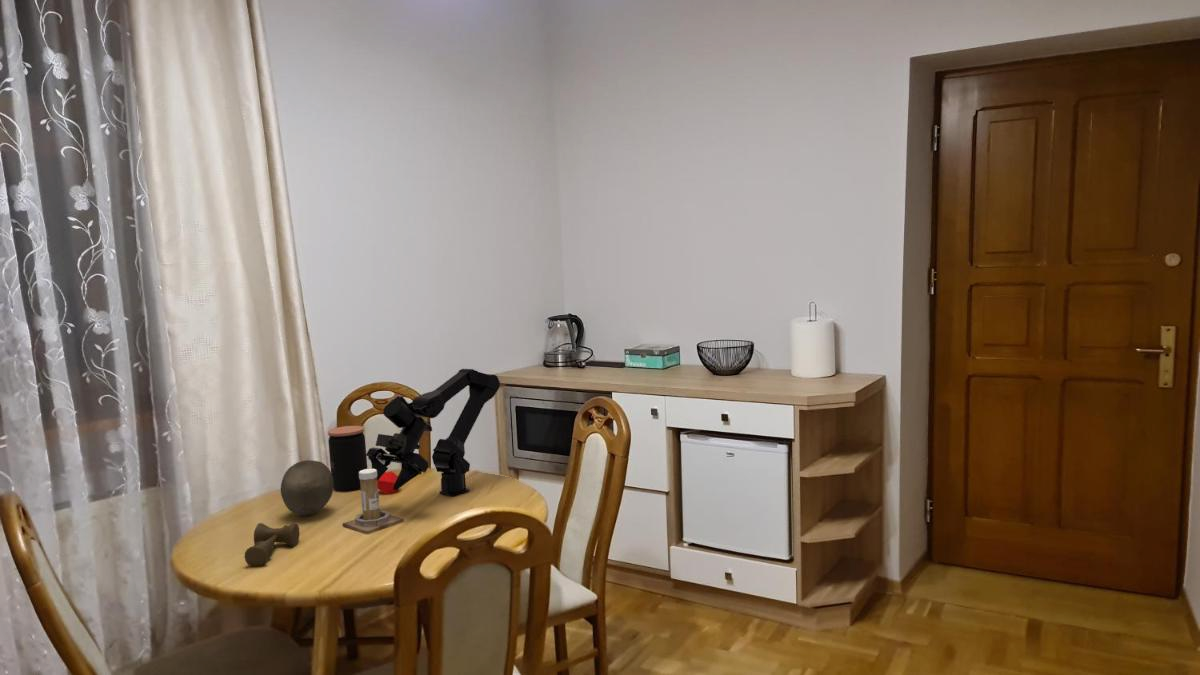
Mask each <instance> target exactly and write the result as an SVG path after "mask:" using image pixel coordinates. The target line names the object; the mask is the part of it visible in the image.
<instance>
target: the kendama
mask: <svg viewBox="0 0 1200 675" xmlns="http://www.w3.org/2000/svg"><path fill="white" fill-rule="evenodd" d="M299 541H300V527H299V524H298V523H296V522H294V523H291V524H289V525H288V524H285V525H283V527H279V528H278V527H277V528H272V527H270V526H268V525H266V524H264V523H261V522H260V523H258V524H256V527H255V529H254V532H253V544H254V545H253V546H250V547H248V548H247V549H246V551H245V552H244V560H245V561H244V562H245V563H246V564H247V565H248V566H249V567H251V568H253V567H254V568H257V567H263V566H264V565H266V563H267V562H268V558H270V557H271V556H272V555H273V551H274V548H273V546H274V544H275V543H283V544H286V545H288V546H290V547H295V546H297V544H298V542H299Z"/></svg>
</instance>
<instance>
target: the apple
mask: <svg viewBox="0 0 1200 675" xmlns="http://www.w3.org/2000/svg"><path fill="white" fill-rule="evenodd" d="M398 476H399V475H397V474H396V473H395V472H394V471H386V472H385V473H384V474H383V475H382V476H381V477H380V479H379V480H378V481H377V486H378V491H380V492H382V493H384V494H385V495H390V494H395V493H398V491H399V489H398V490H396V491H395V490H394V489H393V487H394V484H395V482H396V480H397V478H398Z"/></svg>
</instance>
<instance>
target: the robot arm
mask: <svg viewBox="0 0 1200 675" xmlns="http://www.w3.org/2000/svg"><path fill="white" fill-rule="evenodd" d="M500 385H501V382H500V379H499V377H498V376H497V374H492V373H484V372H480V371H477V370H476V369H473V368H461V369H459V370H458V372H456V373H455V374H454V375H452V376H451V377H450V378H449V379H447V380H446V381H445V382H444V383H442V384H441V385H440V386H438V387H437V388H436V389H434V390H432V391H429V392H424V393H422V394H420V395H418V396H416V397H414V399H412V401H411V402H408V401H407V400H406V399H405V398H404V397H403V396H398V395H397V396H396V397H395V398H394V399H392V400H391V401H390V402H388V403H387V405H385V406H384V408H383V413H382V414H383V416H384V417H385V418H386V419H387V420H389V422H391V423H392V424H393V425H394V426H396V427H397V428H398V429H401V431H400V432H399V433H398V432H395V433H394V434H393V435H389V434H382V433H381V434H380V433H378V434H377V437H376V442H375V446H376V447H373V446H372V447H371V448H369V449H367V450H368V451H366V457H367V458H368V459H367V460H369V461H370V463H371V469H376V470H377V481H378V480H379V479H380V477H381V476H382V475H383V474H384V473H385V472H387V471H388V469H389V467H388V466H390V465H391V463H397V464H401V469H400V471H399V474H398V475H397V476H398V478H397V480H396V482H395V484H394V487H393V489H394V490H395V491H396V490H398V491H399V489H401V488H402V487H403V486H405V485H406V484H407V483H409V482H410V481H412V480H413V479H414V478H416V477H418V476H419V475H422V473H426V472H427V470H428V468H429V461H428V460H427V459H426V458H425V457H424V456H422V455H421V454H420V453H418V452H415V450H420V448H421V446H420V444H419V443H420V441H421V439H422V437H423V435H424V433H425V432H432V431H433V427H432V424H431V421H429V420H425V419H423V418H426V419H435V418H437V417H438V416H439V415H440V414H441V412H442V411H443V410H444V409H445V406H446V403H447V402H448V401H450V400H451V399H452V398H454V397H456V395H458V393H461V391H462V390H464V389H465V388H466V387H468V392H469V397H468V399H467V401H466V403H465V405H464V407H463V409H462V410H461V413H460V415H459V416H458V418H457V420H456V422H455V424H454V426H453V428H452V430H451V432H450V434H449V435H448V437H446V438H445V439H443V438H439V440H438V441H437V443H436V445H435V447H434V448H433V449H432V452H433V453H432V456H431V459H432V462H433V466H434V468H435V469H436V472H438V473H441V474H440V475H441V478H440V486H441V488H440V489H441V490H439V494H443V495H445V496H450V497H455V496H458V495H461V494H464V493H467V492H470V488H468V487H467V484H466V473H468V472H470V466H471V463H470V462H469V461H468V460H466V459H465V454H466V452H465V443H466V441H467V439H468V437H469V435H470V433H471V431H472V429H473V427H474V426H475V423H476V421H477V419H478V418H479V416H480V413H481V411H482V410H483V408H484V406H485V404H486V403H487V402H489V401H490V400H492V398H494V397H495V395H496V394H497V392H498V391H499V390H500V387H501V386H500ZM380 447H383V448H384V449H383V448H380ZM387 452H388V453H387Z"/></svg>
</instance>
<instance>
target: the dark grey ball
mask: <svg viewBox="0 0 1200 675" xmlns="http://www.w3.org/2000/svg"><path fill="white" fill-rule="evenodd" d="M281 480H282V481H281V484H280V495H281V497H282V498H281V499H282V501H283V503H284V505H285V507H286V508H287V509H288V510H289V511H290V512H292V513H293V514H295V515H297V516H302V517H303V516H304V517H306V516H312V515H314V514H316V513H318V512H320V511H321V510H322V509H323V508H325V506H326V505H327V504H328V503H329V501H330V499H331V498H332V495H333V492H334V488H333V486H334V484H333V477H332V474H331V469H329V467H328V466H327V465H326V464H325V463H323V462H321V461H318V460H313V459H312V460H311V459H310V460H309V459H307V460H301V461H298V462H295V463H294V464H293V465H291V466H289V468H288V469H287V470H286V471H285V473H284V475H283V476H282V479H281Z"/></svg>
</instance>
